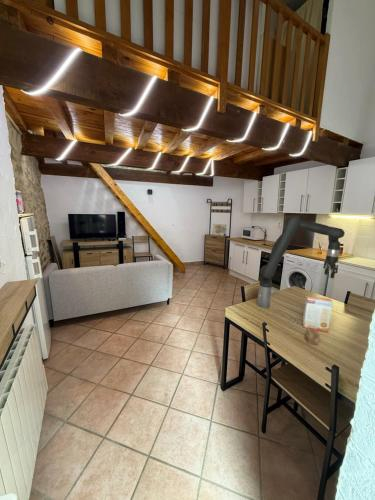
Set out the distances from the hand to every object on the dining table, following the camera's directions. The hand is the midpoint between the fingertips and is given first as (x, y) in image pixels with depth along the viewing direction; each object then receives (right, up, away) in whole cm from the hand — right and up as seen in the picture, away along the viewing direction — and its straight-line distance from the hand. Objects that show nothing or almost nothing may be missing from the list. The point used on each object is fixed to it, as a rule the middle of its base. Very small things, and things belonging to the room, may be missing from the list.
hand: (328, 276), depth 151 cm
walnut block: (-34, -34, -33) cm, 58 cm away
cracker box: (-22, -32, -18) cm, 43 cm away
